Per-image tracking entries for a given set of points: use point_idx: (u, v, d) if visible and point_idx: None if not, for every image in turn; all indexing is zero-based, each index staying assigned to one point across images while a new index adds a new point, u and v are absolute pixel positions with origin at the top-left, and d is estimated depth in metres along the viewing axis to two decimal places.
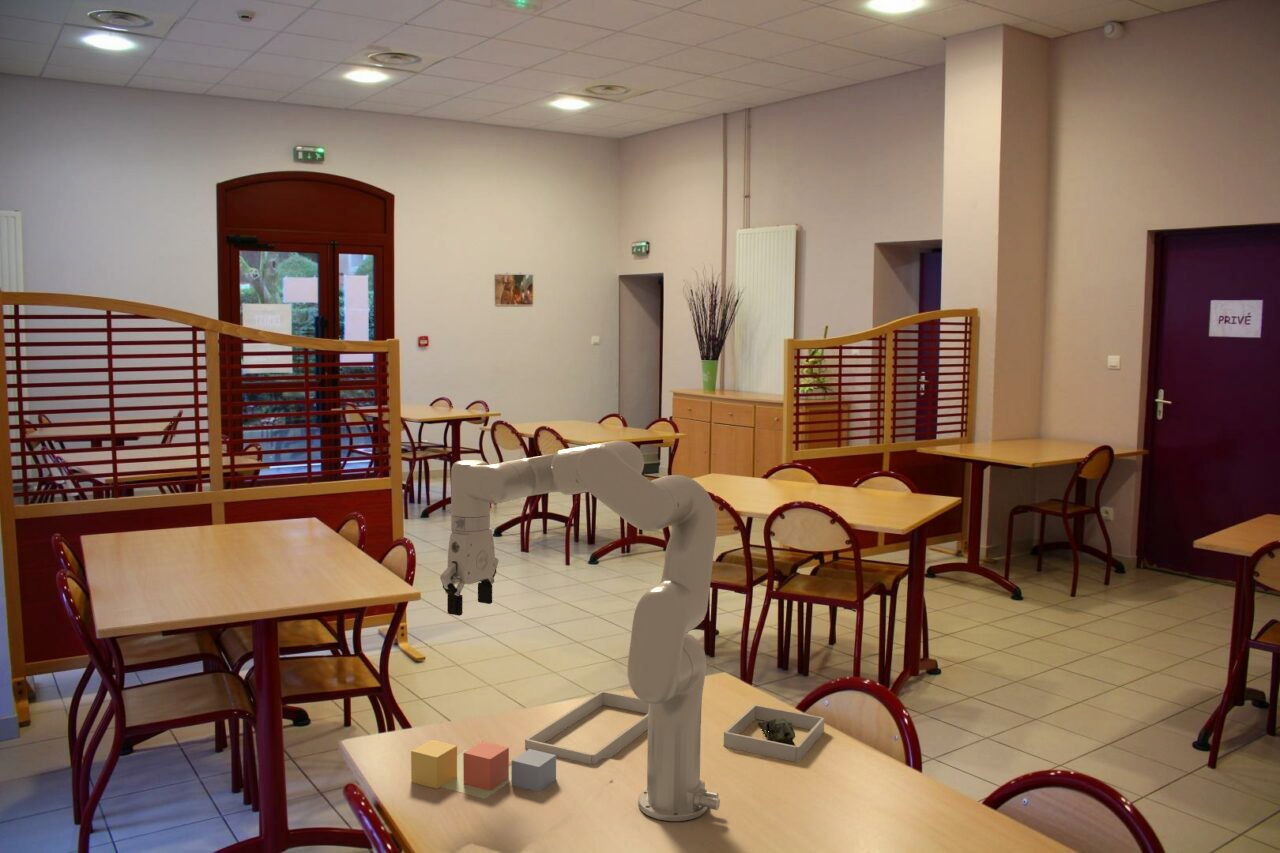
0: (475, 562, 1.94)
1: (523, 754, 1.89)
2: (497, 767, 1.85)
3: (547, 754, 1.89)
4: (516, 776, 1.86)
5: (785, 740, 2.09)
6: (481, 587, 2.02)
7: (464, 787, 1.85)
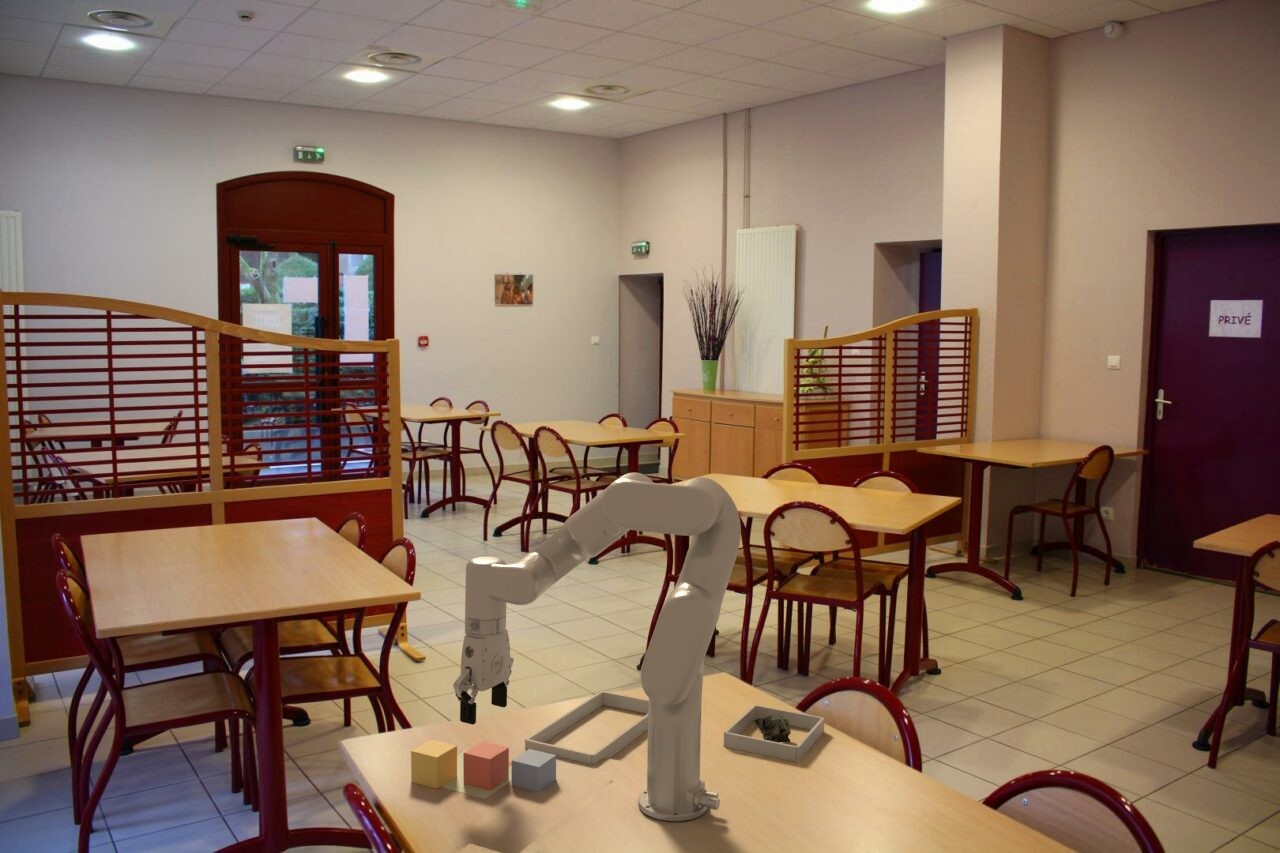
0: (490, 667, 1.83)
1: (523, 754, 1.88)
2: (497, 767, 1.85)
3: (548, 754, 1.89)
4: (516, 776, 1.86)
5: (780, 736, 2.11)
6: (495, 689, 1.91)
7: (464, 787, 1.85)
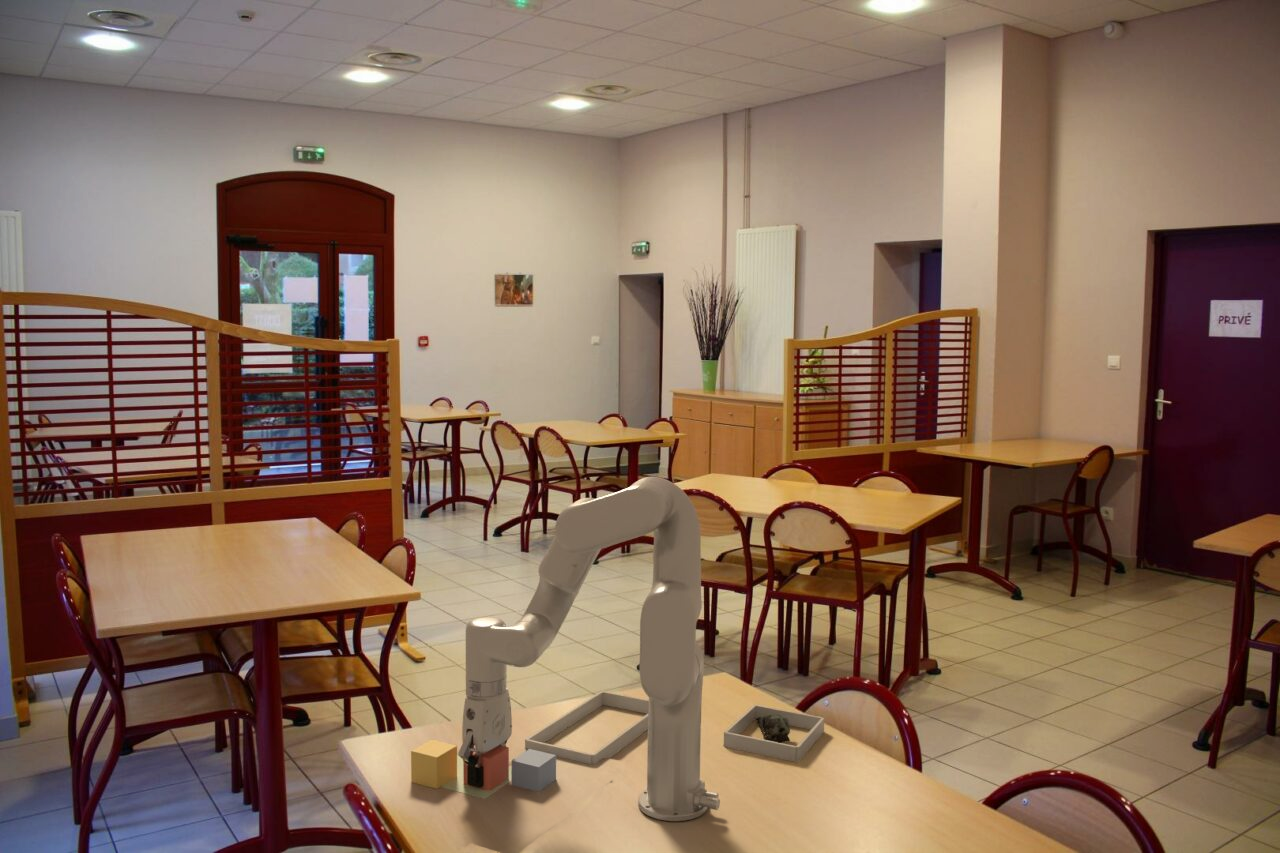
0: (491, 728, 1.84)
1: (523, 754, 1.88)
2: (497, 767, 1.85)
3: (547, 754, 1.89)
4: (516, 776, 1.86)
5: (780, 735, 2.11)
6: None
7: (464, 787, 1.85)
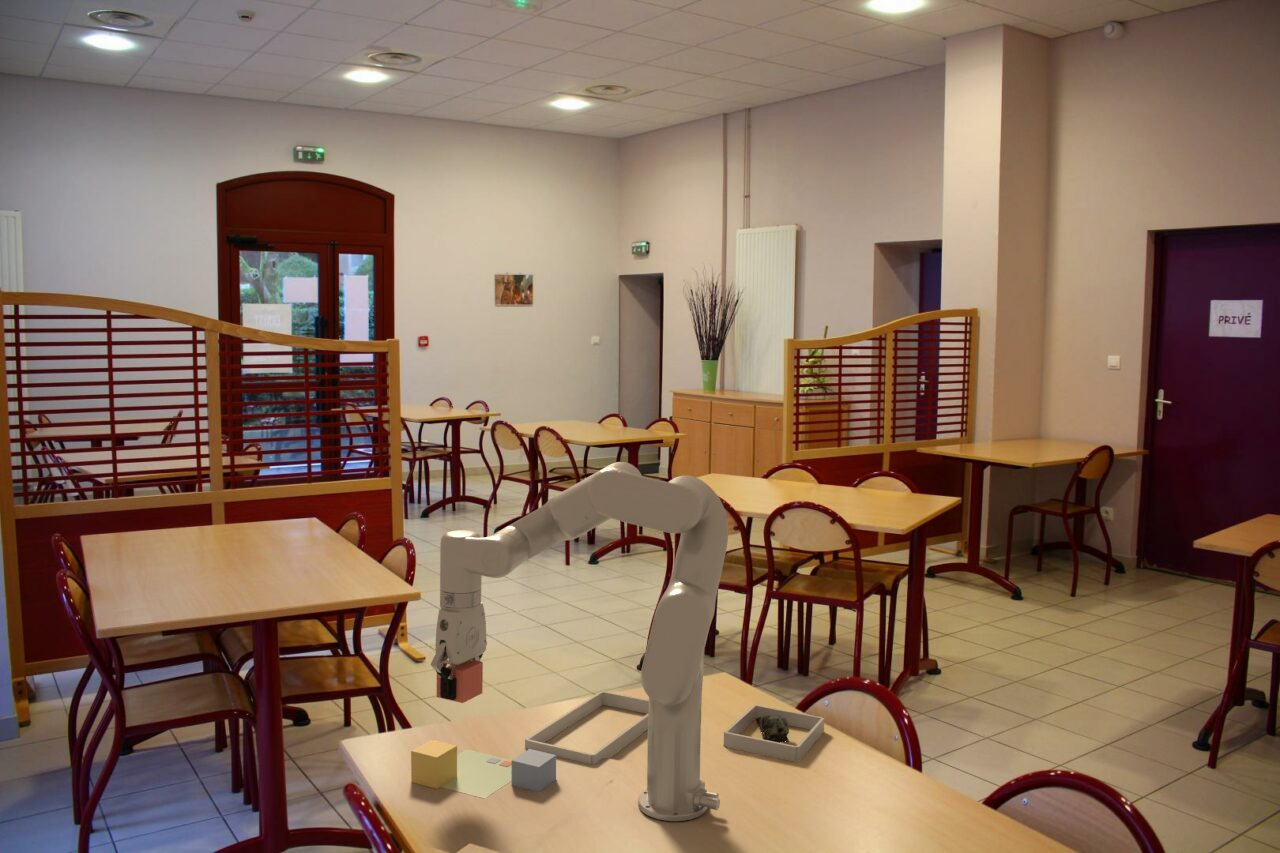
0: (465, 640, 1.82)
1: (523, 754, 1.88)
2: (470, 680, 1.84)
3: (548, 754, 1.89)
4: (516, 776, 1.86)
5: (779, 735, 2.11)
6: None
7: (464, 787, 1.85)
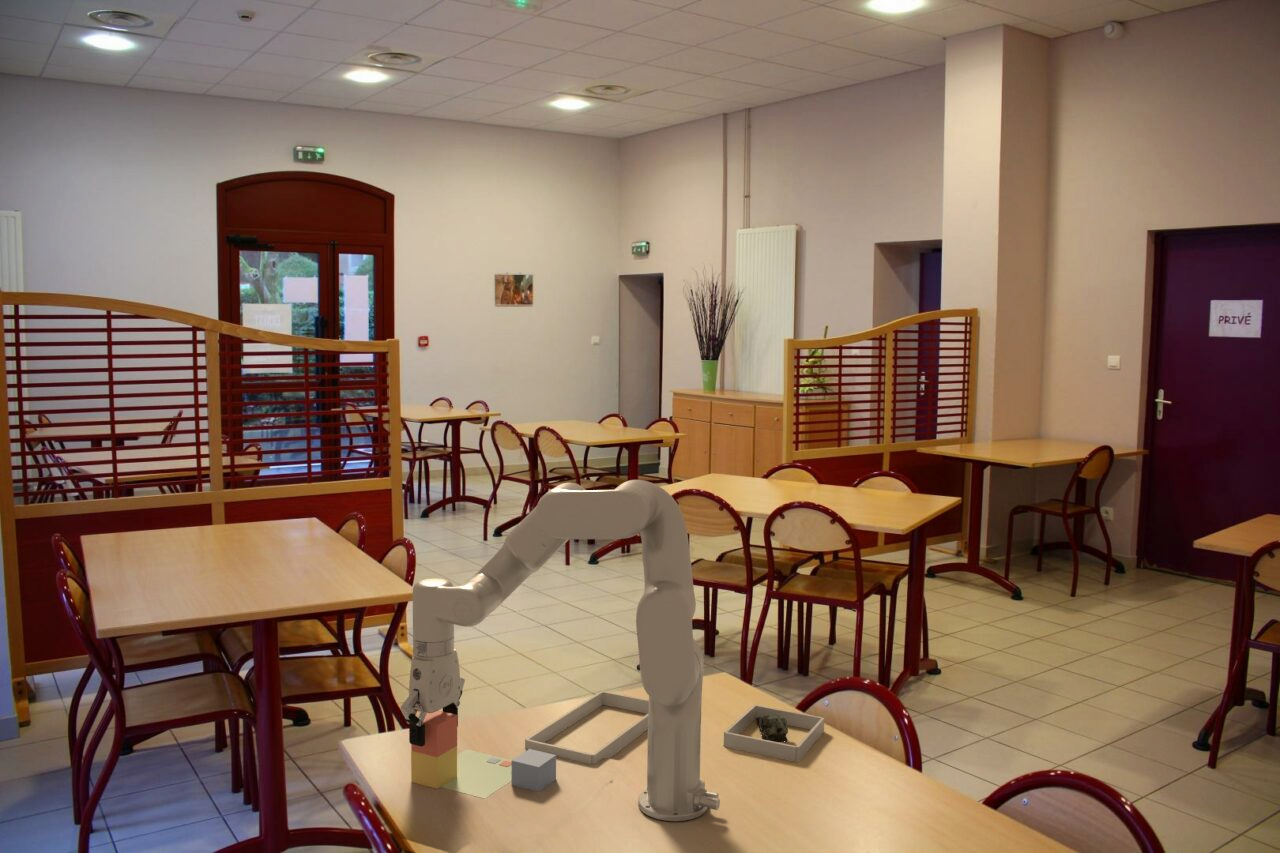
0: (438, 689, 1.84)
1: (523, 754, 1.88)
2: (444, 734, 1.85)
3: (547, 754, 1.89)
4: (516, 776, 1.86)
5: (778, 735, 2.11)
6: (446, 710, 1.91)
7: (464, 787, 1.85)
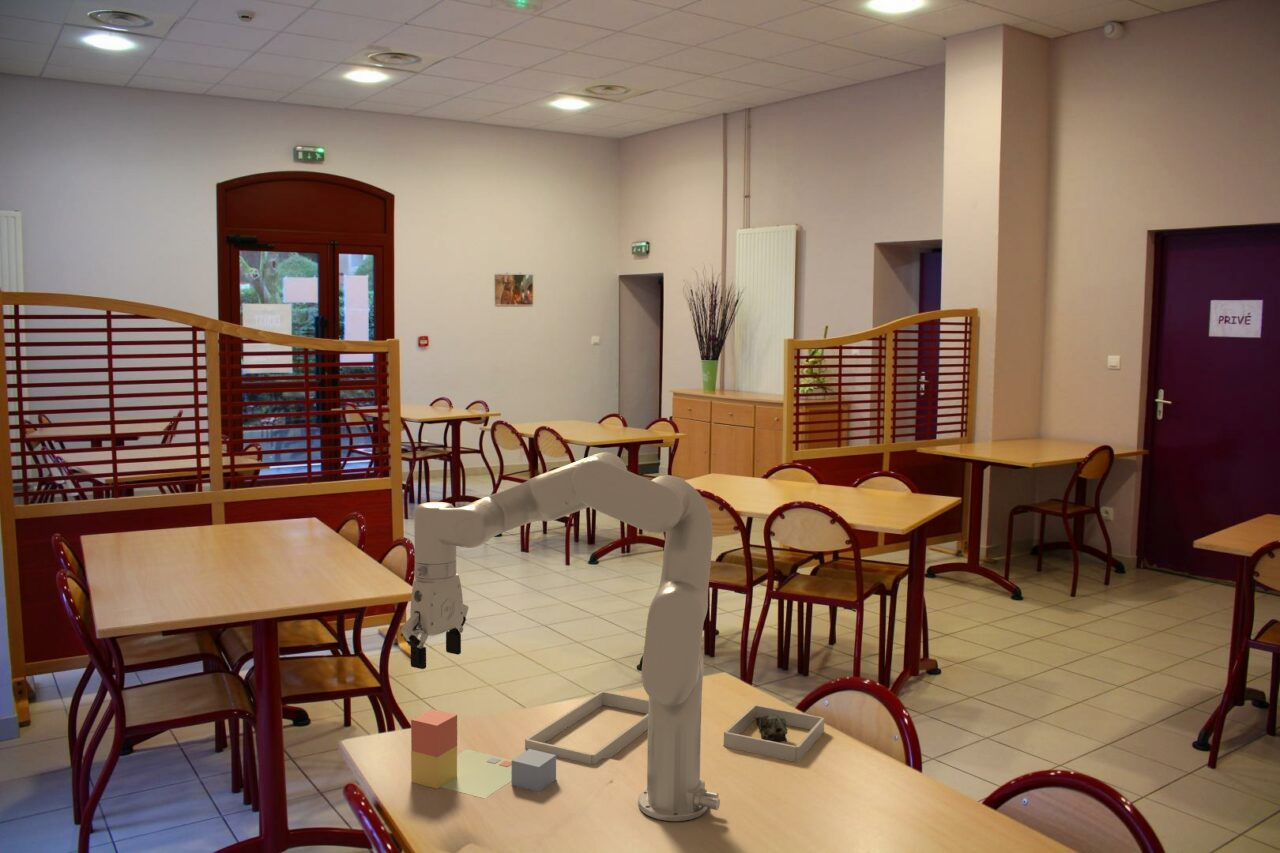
0: (440, 612, 1.82)
1: (523, 754, 1.88)
2: (444, 734, 1.85)
3: (548, 754, 1.89)
4: (516, 776, 1.86)
5: (777, 736, 2.11)
6: (449, 636, 1.90)
7: (464, 787, 1.85)
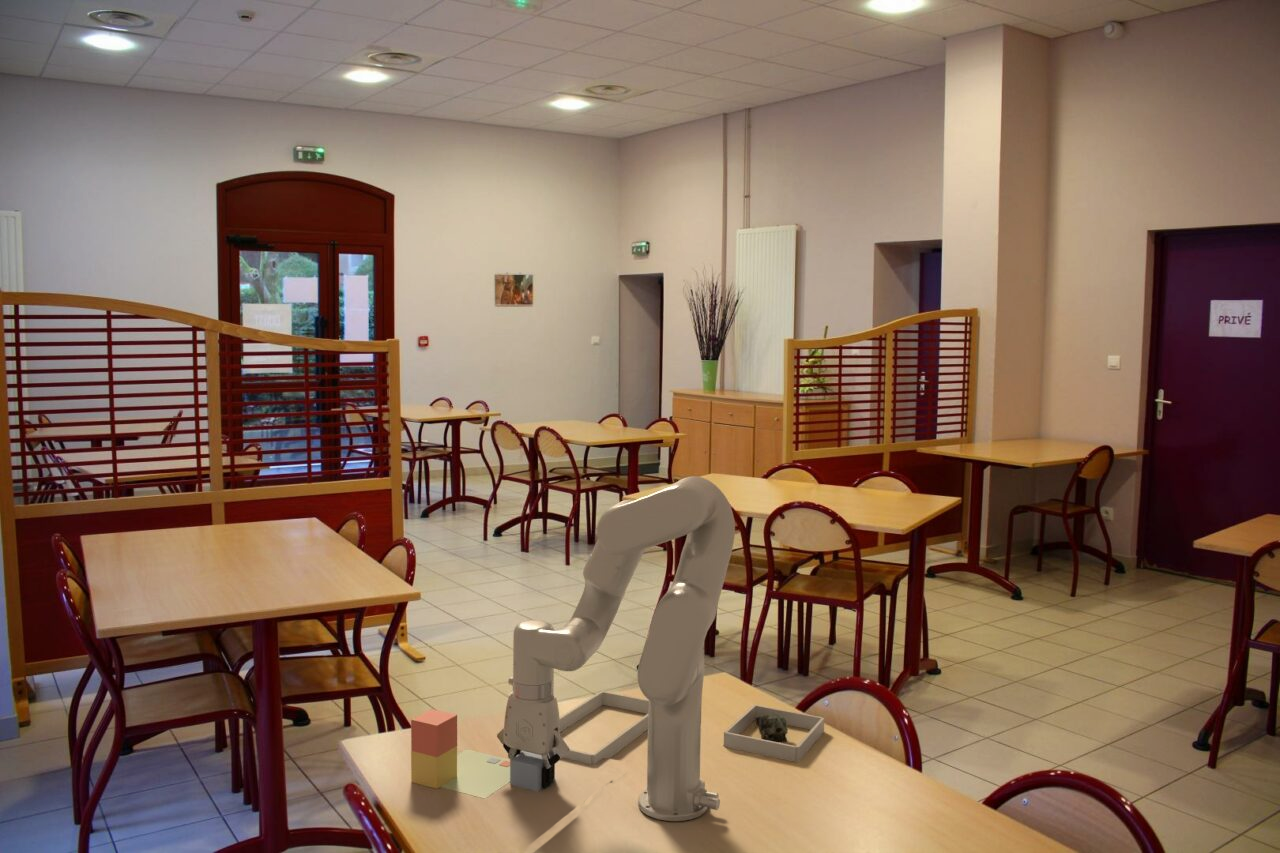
0: (515, 728, 1.85)
1: (522, 754, 1.89)
2: (444, 734, 1.85)
3: None
4: (515, 775, 1.86)
5: (777, 735, 2.11)
6: None
7: (464, 787, 1.85)
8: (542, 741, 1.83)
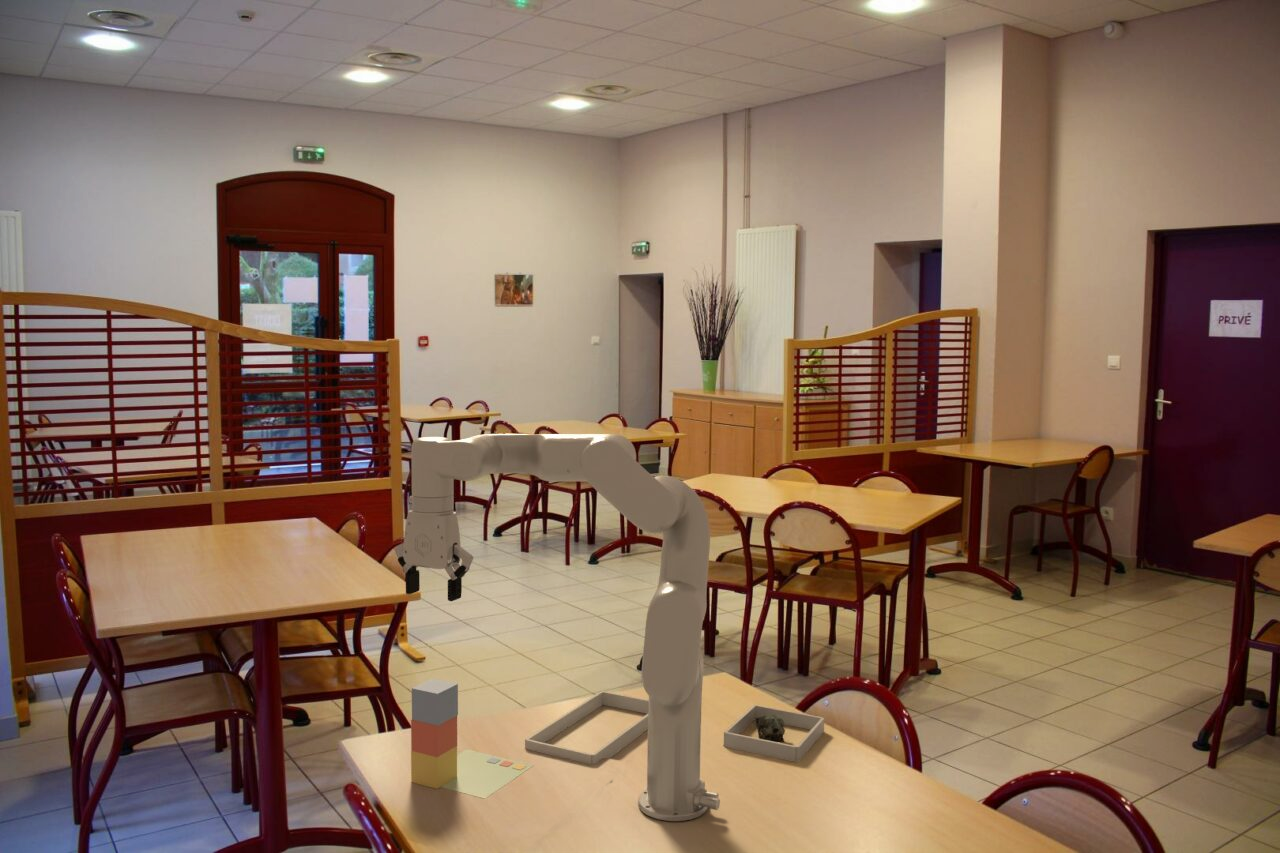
0: (414, 544, 1.83)
1: (425, 683, 1.88)
2: (444, 734, 1.85)
3: (449, 683, 1.88)
4: (416, 704, 1.85)
5: (774, 736, 2.11)
6: None
7: (464, 787, 1.85)
8: (440, 555, 1.80)
